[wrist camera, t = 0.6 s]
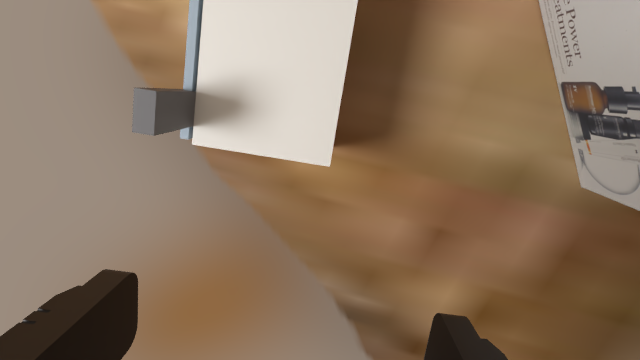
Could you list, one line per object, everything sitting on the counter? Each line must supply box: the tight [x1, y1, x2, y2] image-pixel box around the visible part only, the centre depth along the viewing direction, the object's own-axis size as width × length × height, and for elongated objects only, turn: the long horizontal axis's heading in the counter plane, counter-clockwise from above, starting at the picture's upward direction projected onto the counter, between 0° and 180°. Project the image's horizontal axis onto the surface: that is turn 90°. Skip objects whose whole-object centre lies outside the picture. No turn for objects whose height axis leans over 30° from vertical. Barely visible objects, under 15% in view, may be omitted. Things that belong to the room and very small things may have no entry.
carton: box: [192, 0, 358, 167], centre depth 30 cm, size 14×10×10 cm
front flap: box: [132, 0, 203, 139], centre depth 26 cm, size 14×1×16 cm, turn 171°
